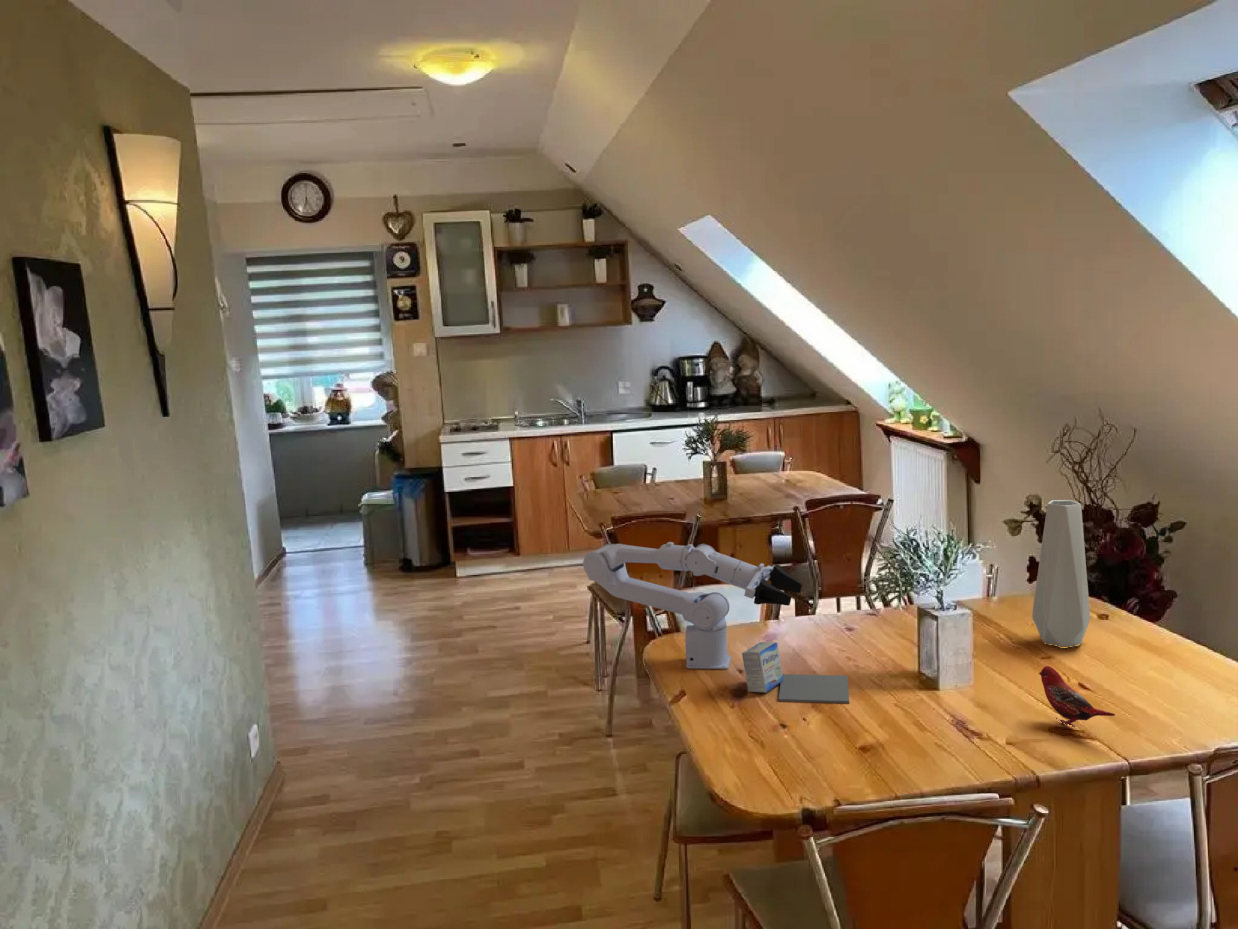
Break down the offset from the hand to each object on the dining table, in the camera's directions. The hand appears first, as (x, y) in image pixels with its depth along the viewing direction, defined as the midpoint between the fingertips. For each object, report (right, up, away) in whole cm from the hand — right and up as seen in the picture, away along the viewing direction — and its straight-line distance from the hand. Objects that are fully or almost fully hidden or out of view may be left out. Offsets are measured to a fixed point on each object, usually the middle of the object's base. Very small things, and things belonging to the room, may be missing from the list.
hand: (795, 594), depth 208 cm
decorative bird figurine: (+45, -21, -32) cm, 59 cm away
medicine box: (-7, -19, -5) cm, 21 cm away
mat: (+3, -19, -7) cm, 20 cm away
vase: (+63, -13, +13) cm, 65 cm away
